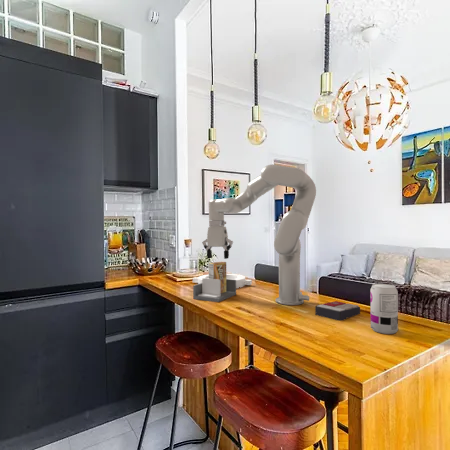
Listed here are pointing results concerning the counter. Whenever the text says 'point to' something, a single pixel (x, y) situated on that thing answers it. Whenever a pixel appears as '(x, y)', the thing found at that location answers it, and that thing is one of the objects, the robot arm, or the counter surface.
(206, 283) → the shelf
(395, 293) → the supplement can
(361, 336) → the counter surface
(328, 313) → the dark grey flat box
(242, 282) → the ring with crossbar
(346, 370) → the counter surface
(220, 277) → the candy box
